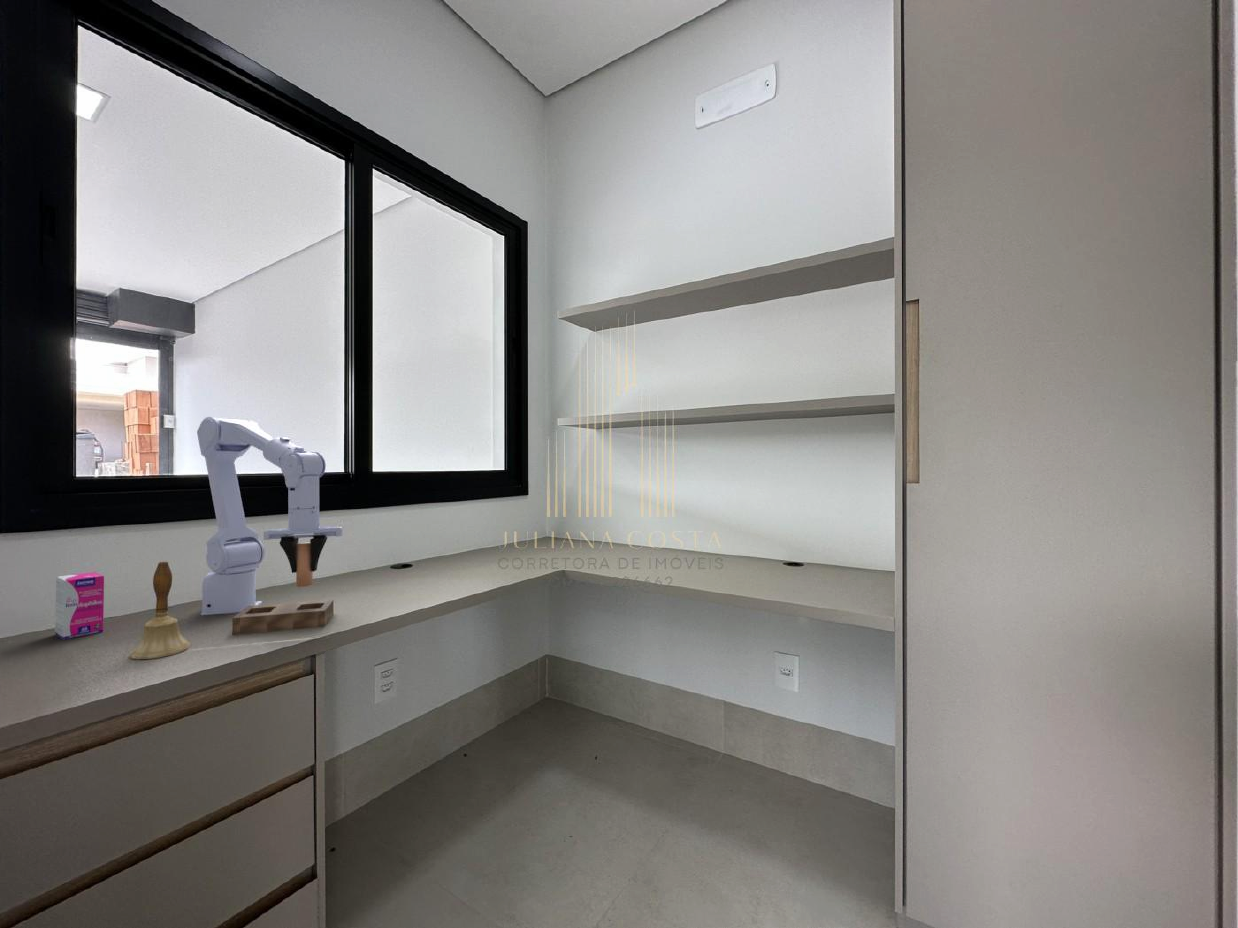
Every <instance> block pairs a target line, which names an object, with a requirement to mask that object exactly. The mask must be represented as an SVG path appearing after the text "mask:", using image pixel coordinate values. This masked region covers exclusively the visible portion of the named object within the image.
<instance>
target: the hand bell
mask: <svg viewBox="0 0 1238 928" xmlns="http://www.w3.org/2000/svg"><path fill="white" fill-rule="evenodd" d="M152 577H153V579H152V586H153V587H152V588H153V591H154V593H155V598H156V602H155V615H154V618H152V619H151V620H149V621H147V622H146V623H145V624H144V629H143V632H142V637H141V639H140V642H139V643H138V645H137V646H136V647H135V648H134V649H133V650H132V651H131V652H130V654H129V658H131V659H133V660H151V659H158V658H163V657H165V658H166V657H168V656H173V655H177V654H180V653H182V652H185V651H187V650H188V649H189V648H190V647H191V646H192V645H191V643H190V642H189V641H188V640H187V639H185V638H184V636H183V635H182V633H181V631H180V627H179V621H178V619H177V618H176V617H172V616H169V613H168V611H169V603H168V602H169V601H168V600H169V598H168V597H169V594H170V591H171V588H172V584H173V574H172V570H171V568H170V566H169V562H168V561H160V562H158V565H156V569H155V571H154V574H153V576H152Z"/></svg>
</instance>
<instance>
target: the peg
mask: <svg viewBox="0 0 1238 928" xmlns="http://www.w3.org/2000/svg"><path fill="white" fill-rule="evenodd" d="M311 557H312V556H311V544H310V541H309V542H307V541H305V542H298V543H297V544H296V576H295V578H296V582H295V583H296V584H295V585H296V587H297V588H298V587H299V588H300V587H308V586H313V582H314V581H313V576H314V575H313V573H314V571H312V572H311Z"/></svg>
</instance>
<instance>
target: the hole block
mask: <svg viewBox="0 0 1238 928" xmlns="http://www.w3.org/2000/svg"><path fill="white" fill-rule="evenodd" d="M333 616H334V599H325V600H312V601H310V600H309V601H299V602H297V601H296V602H283V603H273V604H271V603H270V604H260V605H255V606H248V607H246V608H245V609H244V610H242V611H241V612H237V613H236V614H235V615H234V616H233V617H232V618H231V619H232V621H231V622H232V624H231V625H232V626H231V627H232V628H231V629H232V631H231V633H232V636H234V635H244V634H246V635H247V634H256V633H265V632H277V631H278V632H279V631H280V632H281V631H289V630H300V629H312V628H313V629H314V628H321V627H322V628H323V627H326V626H327V625H328V623H329V622H330V620H331V618H332V617H333Z"/></svg>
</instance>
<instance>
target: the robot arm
mask: <svg viewBox="0 0 1238 928" xmlns="http://www.w3.org/2000/svg"><path fill="white" fill-rule="evenodd" d="M196 435H197V439H198V446H199V449H200V450H199V451H200V454H201V456H203V457H204V458H205V465H206V469H207V470H206V471H207V475H208V480H209V487H210V493H211V496H212V497H211V498H212V503H213V507H214V508H213V509H214V513H215V519H216V524H217V529H218V531H216V532H215V534H213V535H212V536H211V537H210V538H209V539H208V540H207V541H206V547H207V549H206V551H207V552H206V555H205V560H206V565H207V566H208V568H209V569H210V570H211V571H212V572H207V573H206V574H205V575H204V578H203V581H202V587H201V589H202V590H201V593H202V596H201V597H202V599H201V600H202V601H201V604H202V605H201V607H202V609H201V610H202V611H201V613H200V616H207V615H220V614H221V615H222V614H234V613H236V614H237V613H240V612H241V611H242V610H244V609H245V608H246V607H248V606H255V605H262V603H263V601H262V600H258V601H256V569H259V568H260V565H261V563H263V561H264V560H265V557H266V549H265V548H266V547H265V546H264V544H263V543H262V540H261V539H260V535H259V532H257V530H254V529H253V528H251V527H249V526H248V525H247V521H246V517H245V511H244V506H243V500H242V497H241V496H242V495H241V491H240V485H239V480H238V475H237V469H236V465H235V461H236V460H237V459H238V458H240V457H243V456H244V454H246V452H247V451H248V450H249V449H250V448H251V447H253V448H255V449H256V450H257V449H258V450H259V451H261V452H262V455H263V457H264V458H265V460H267V461H268V462H269V463H271V464H273V465H275V467H278V468H279V469H280V470H281V473H282V475H283V476H284V483H285V484H284V485H286V488H287V489H288V497H287V499H288V500H287V502H288V511H287V512H288V515H287V517H288V520H287V521H288V527H287V528H274V529H273V528H272V529H265V530H263V540H264V541H265V540H268V541H269V540H277V539H278V540H279V539H280V541H279V546H280V547H281V549H282V550H283V552H284V553H285V555H286V557H287V560H288V562H289V566H290V569H291V574H295V573H296V544H297V543H299V539H302V538H303V539H305V538H311V539H309V542H310V544H311V556H312V557H311V572H312V571H313V572H316V571H318V565H319V560H320V556H321V553H322V551H323V549H324V547H325V544H326V542H327V541H328V538H329V537H342V536H343V535H344V533H343V529H344V527H343V526H320V478H321V477H323V475H324V474H325V472H326V465H327V464H326V460H325V458H324V457H323V456H322V455H321V454H320V452H317V451H312V452H307V451H306V450H305V449H304V447H302V446H297V445H296V444H294V443H292V442H291V439H290V438H288V437H286V436H281V437H273V436H271V435H270V434H268V433H267V432H265V431H264V430H263V429H261V428H260V427H259V424H258V422H255V421H253V420H252V419H233V418H219V417H214V416H213V417H212V416H206V417H205V418H203V420H202V421H201V422H200V425H199V426H198V428H197V431H196Z"/></svg>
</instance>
